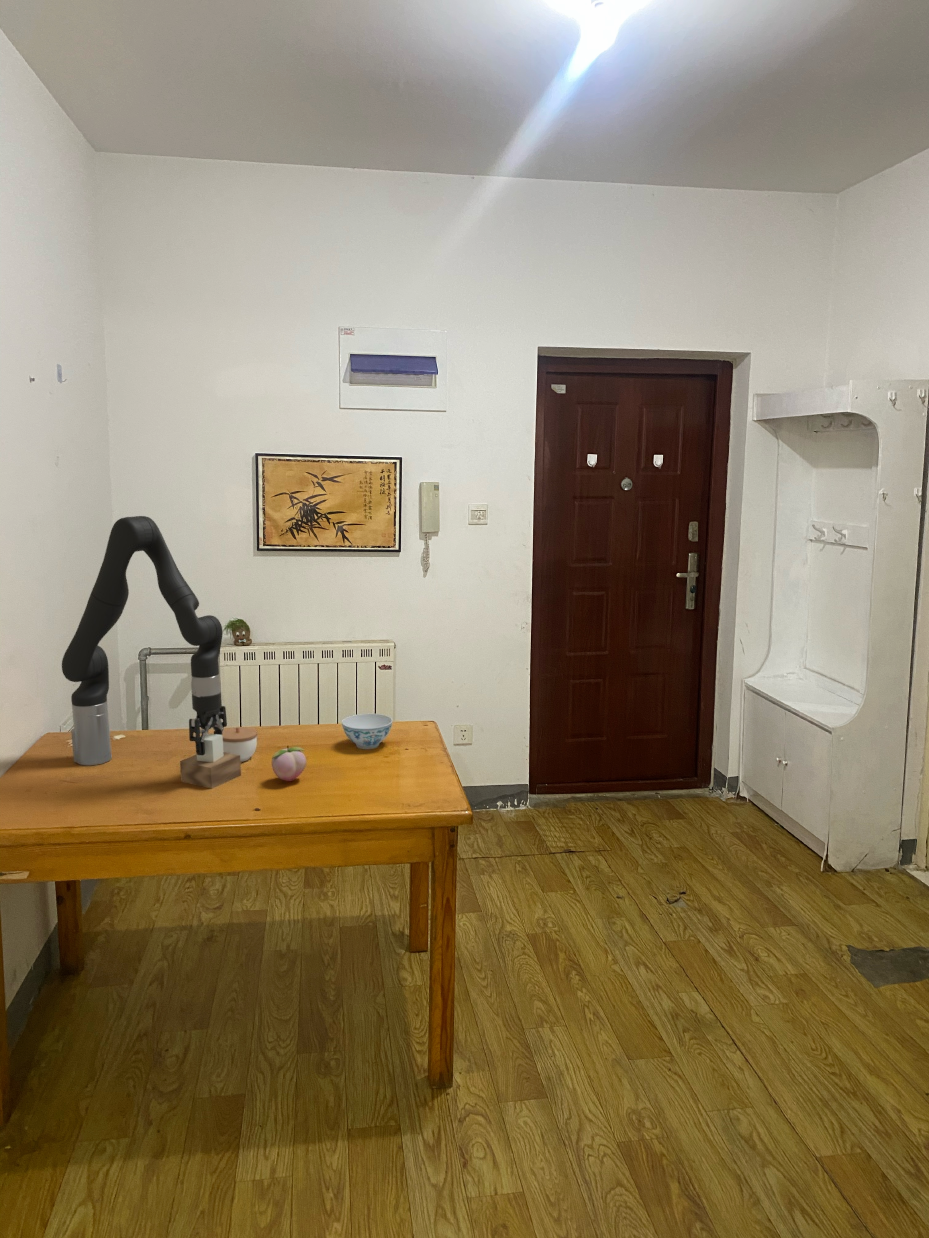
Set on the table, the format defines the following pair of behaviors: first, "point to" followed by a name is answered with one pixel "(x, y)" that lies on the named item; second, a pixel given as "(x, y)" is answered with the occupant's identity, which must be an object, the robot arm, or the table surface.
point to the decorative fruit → (288, 763)
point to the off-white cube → (212, 748)
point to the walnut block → (210, 770)
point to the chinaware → (367, 729)
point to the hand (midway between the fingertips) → (209, 749)
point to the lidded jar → (240, 742)
